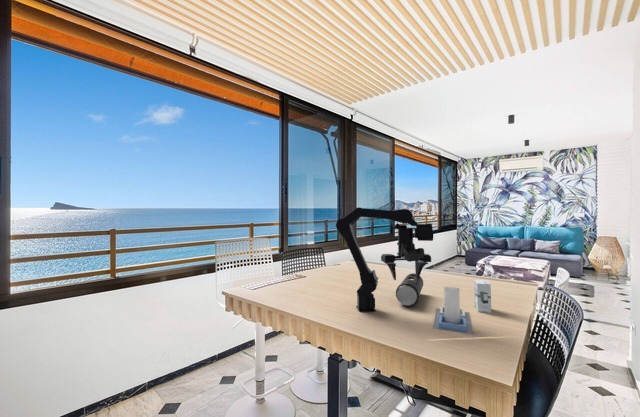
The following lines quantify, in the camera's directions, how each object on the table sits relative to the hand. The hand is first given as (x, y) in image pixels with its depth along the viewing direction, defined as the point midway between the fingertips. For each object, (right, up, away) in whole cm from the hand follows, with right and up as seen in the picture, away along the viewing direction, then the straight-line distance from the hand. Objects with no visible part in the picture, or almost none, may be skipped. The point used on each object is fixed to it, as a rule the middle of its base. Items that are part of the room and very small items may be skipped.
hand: (406, 279), depth 113 cm
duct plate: (+14, -13, -9) cm, 21 cm away
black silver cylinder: (+7, -14, +17) cm, 23 cm away
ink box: (+32, -13, +2) cm, 35 cm away
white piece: (+12, -12, -15) cm, 22 cm away
